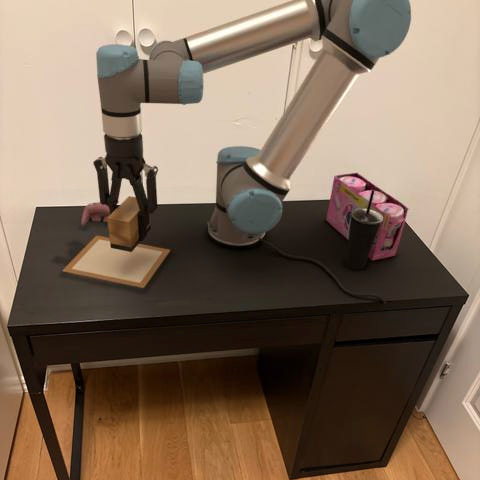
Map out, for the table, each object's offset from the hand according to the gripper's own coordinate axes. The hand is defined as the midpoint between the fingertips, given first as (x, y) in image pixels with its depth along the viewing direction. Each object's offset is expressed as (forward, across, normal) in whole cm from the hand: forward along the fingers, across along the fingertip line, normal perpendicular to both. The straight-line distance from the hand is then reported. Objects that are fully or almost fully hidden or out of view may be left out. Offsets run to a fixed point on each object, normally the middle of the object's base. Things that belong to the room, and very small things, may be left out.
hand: (131, 235), depth 116 cm
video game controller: (+9, +16, -16) cm, 24 cm away
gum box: (+9, -51, -34) cm, 62 cm away
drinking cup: (+9, -51, -20) cm, 55 cm away
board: (+9, +4, 0) cm, 9 cm away
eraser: (+1, 0, 0) cm, 1 cm away
